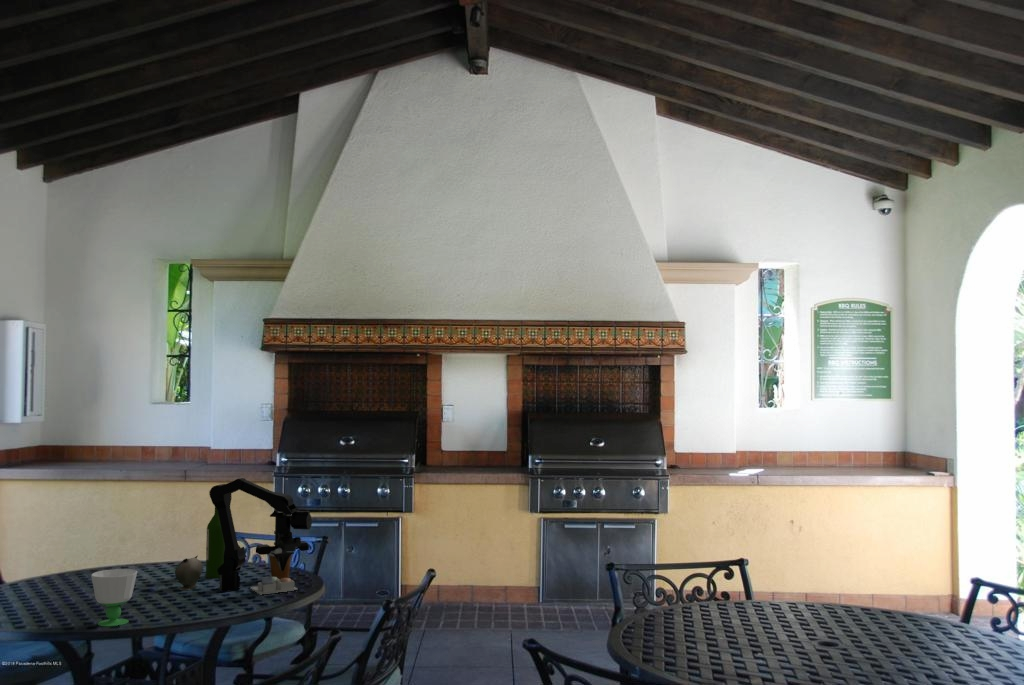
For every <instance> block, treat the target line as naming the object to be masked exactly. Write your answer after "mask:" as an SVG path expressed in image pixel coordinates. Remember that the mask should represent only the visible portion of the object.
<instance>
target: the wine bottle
mask: <svg viewBox="0 0 1024 685" xmlns="http://www.w3.org/2000/svg"><path fill="white" fill-rule="evenodd" d="M205 546H206V547H205V548H206V550H205V578H206V577H208V578H207V579H210V578H218V579H220V575H219V574H218V571H217V569H218V568H219V567H220V566H221V565H222V564H223V563H224V561H223V554H224V549H225V545H224V540H223V535H222V530H221V525H220V520H219V516H218V511H217V509H216V507H215V506H214V514H213V516H212V518H211V519H210V520H209V522H208V523H207V527H206V545H205Z"/></svg>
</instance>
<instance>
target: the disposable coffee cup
mask: <svg viewBox="0 0 1024 685" xmlns="http://www.w3.org/2000/svg"><path fill="white" fill-rule="evenodd" d="M271 552H272V551H271ZM271 552H270V554H268V556H269V565H270V566H269V567H270V574H271V576H270V577H277V578H278V579H282V578H290V577H289V576H290V568H291V563H292V561H291V560H292V555H291V556H290V557H289V559H288V561H287V563H286V566H285V569H284V571H281V570H280V568H279V565H278V562H277V560H276V558H275V556H274V555H273V554H271ZM281 553H282V552H281Z"/></svg>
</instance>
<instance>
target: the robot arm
mask: <svg viewBox="0 0 1024 685" xmlns="http://www.w3.org/2000/svg"><path fill="white" fill-rule="evenodd" d="M237 491H241V492H244V493H246V494H248V495H250V496H253V497H254V498H257V499H259V500H261V501H264V502H266V503H267V504H268V505H269V506H270V507H271V508H273V509H274V510H273V512H272V513H270V515H269V517H270V518H275V519H274V520H275V523H274V526H275V527H274V528H275V530H274V531H273V534H274V542H273V545H272V546H271V545H270V544H265V543H264V544H258V545H257V546H256V547H255V553H256V554H257V555H269V554H270V552H271V551H272V552H271V554H273V555H274V556H275V558H276V560H277V562H278V565H279V568H280V570H281V571H284V569H285V566H286V563H287V561H288V559H289V557H290V556H291V557H292V555H294V554H295V551H296V550H300V551H301V552H303V551H304V552H305V551H309V550H310V545H309V543H308V542H306V541H304V540H302V538H301V537H300V536H296V537H293V531H292V529H293V530H311V528H312V524H313V519H312V516H311V514H310V513H311V511H310V510H304V511H301V510H299V509H298V507H297V506H296V504H295V503H294V499H293V497H292V495H290V494H287V493H283V492H277V491H272V490H270V489H268V488H266V487H263V486H261V485H258V484H257V483H253V482H252V481H250V480H247V479H246V478H244V477H240V478H236V479H235V480H232V481H229V482H227V483H222V484H218V485H213V486H212V487H211V488H210V490H209V494H208V496H209V497H210V500H211V502H212V505H213V506H214V508H215V507H216V509H217V511H218V516H219V520H220V525H221V530H222V535H223V540H224V545H225V549H224V554H223V561H224V563H223V564H222V565H221V566H220V567H219V568H218V569H217V571H218V574H219V575H220V578H219V587H217V589H218V590H220V591H221V592H224V593H225V592H229V591H231V590H232V591H238V590H237V589H240V590H241V576H240V575H239V574H240V573H239V572H240V571H241V568H242V567H243V566H244V565H245V563H246V558H247V557H248V556H247V555H246V550H245V546H242V547H241V546H240V545H239V543H238V538H237V534H236V529H235V524H234V518H233V514H232V510H231V504H232V500H233V499H232V494H233V493H235V492H237ZM281 552H282V553H281ZM232 591H231V592H232Z"/></svg>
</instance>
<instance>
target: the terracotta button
mask: <svg viewBox="0 0 1024 685" xmlns="http://www.w3.org/2000/svg"><path fill="white" fill-rule="evenodd" d="M290 579H291V578H290V577H288V578H282V579H280V582H290Z"/></svg>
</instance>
